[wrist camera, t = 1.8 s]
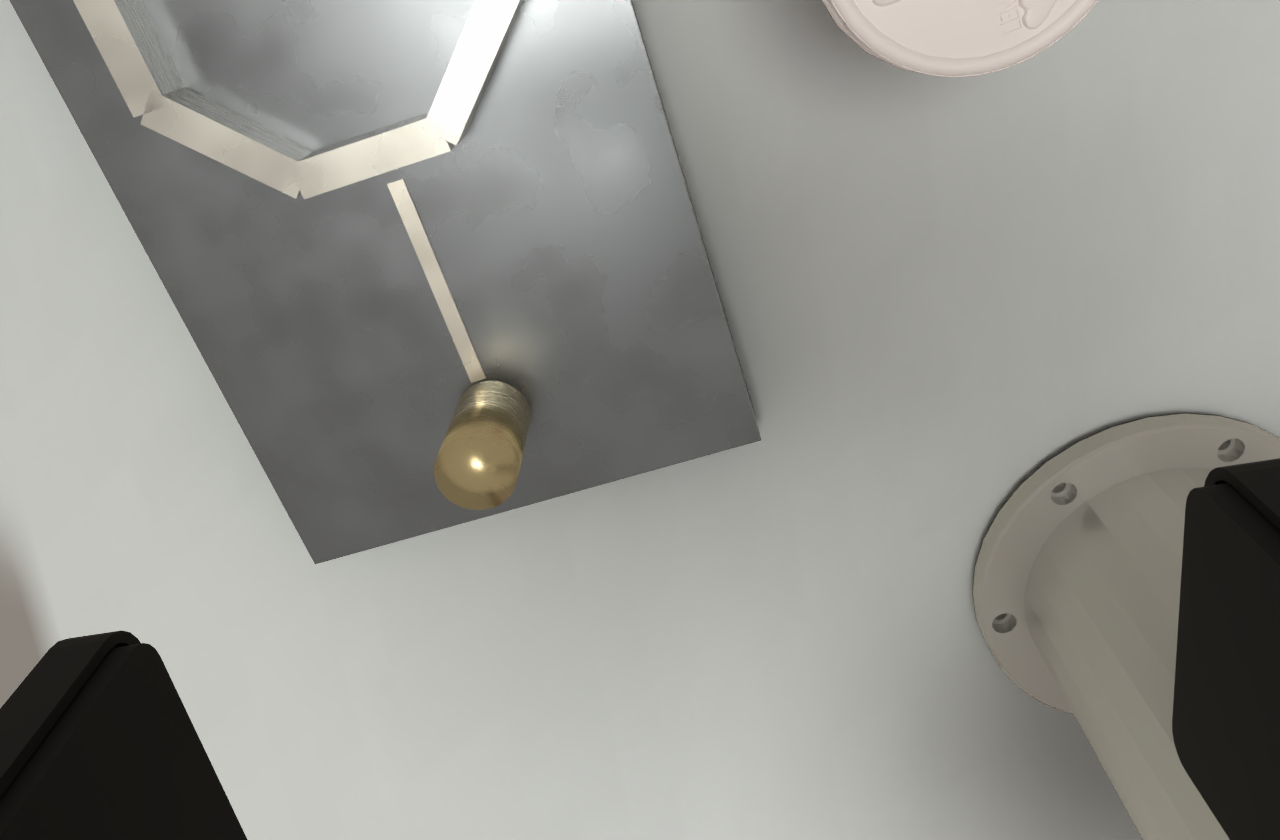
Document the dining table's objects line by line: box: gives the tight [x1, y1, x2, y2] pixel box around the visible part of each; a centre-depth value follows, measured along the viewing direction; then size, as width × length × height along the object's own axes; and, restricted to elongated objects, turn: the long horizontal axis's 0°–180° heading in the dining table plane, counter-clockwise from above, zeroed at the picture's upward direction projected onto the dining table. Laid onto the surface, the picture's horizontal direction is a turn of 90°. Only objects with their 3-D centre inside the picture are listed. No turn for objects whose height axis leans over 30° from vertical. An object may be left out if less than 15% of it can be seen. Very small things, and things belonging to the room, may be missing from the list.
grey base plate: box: [10, 0, 761, 564], centre depth 28 cm, size 16×24×6 cm, turn 18°
